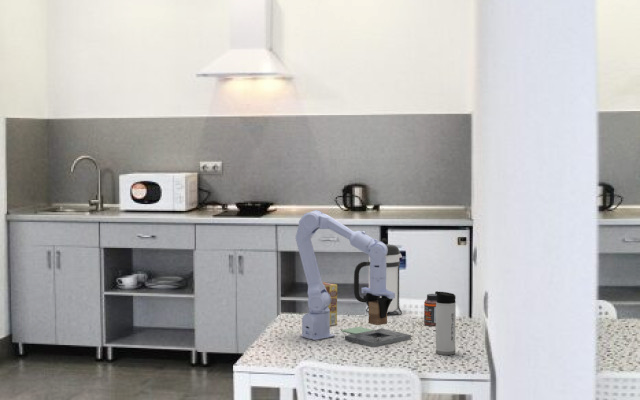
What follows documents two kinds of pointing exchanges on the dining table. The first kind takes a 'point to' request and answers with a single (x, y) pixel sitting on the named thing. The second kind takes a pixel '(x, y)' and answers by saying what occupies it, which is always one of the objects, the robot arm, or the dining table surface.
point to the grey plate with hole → (369, 339)
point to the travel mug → (445, 323)
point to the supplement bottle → (430, 310)
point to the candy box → (332, 302)
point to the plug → (375, 314)
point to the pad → (356, 330)
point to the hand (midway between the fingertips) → (377, 316)
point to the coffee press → (391, 276)
